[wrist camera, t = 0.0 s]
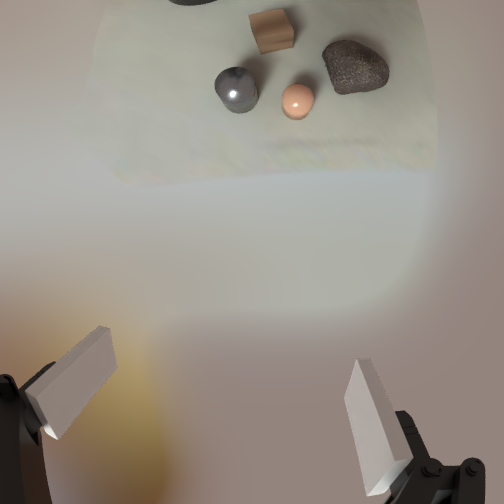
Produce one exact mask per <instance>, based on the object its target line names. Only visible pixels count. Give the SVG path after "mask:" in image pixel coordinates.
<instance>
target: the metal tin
mask: <svg viewBox="0 0 504 504" xmlns="http://www.w3.org/2000/svg"><path fill="white" fill-rule="evenodd" d="M215 90H216V93H217V94H218V96H219V97H220V99H221V100H222V102H223V103H224V105H225V106H226V107H227V109H228V110H230V111H232V112H234V113H246V112H248V111H250V110H251V109H253V108H254V107H255V105H256V103H257V101H258V94H257V90H256V85H255V81H254V77H253V75H252V74H251V73H250V72H249V71H248V70H246V69H244V68H241V67H231V68H228V69H226V70H224V71H222V72H221V73H220V74H219V75H218V77H217V78H216V81H215Z"/></svg>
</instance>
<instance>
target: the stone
mask: <svg viewBox="0 0 504 504" xmlns="http://www.w3.org/2000/svg"><path fill="white" fill-rule="evenodd" d="M322 57H323V59H324V61H325V63H326V67H327V70H328V74H329V77H330V79H331V83H332V84H333V87H334V89H335V91H336V92H337V93H338V94H344V95H345V94H350V93H356V92H368V91H372V90H375V89H378V88H381V87H383V86H384V85H386V83H387V82H388V78H389V68H388V66H387V64H386V63H385V61H384V59H383V58H382V57H381V56H379V55H378V54H377V53H376V52H374V51H373V50H371V49H370V48H368V47H366V46H364V45H362V44H360V43H357V42H354V41H349V40H342V41H337V42H334V43H331V44H330V45H329V46H327V47H326V49H325V50H324V51H323V54H322Z"/></svg>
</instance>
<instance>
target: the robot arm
mask: <svg viewBox="0 0 504 504" xmlns="http://www.w3.org/2000/svg"><path fill="white" fill-rule="evenodd" d="M169 1H171V2H172V3H175V4H179V5H187V6H191V5H201V4H206V3H210V2H213V1H216V0H169ZM116 369H117V363H116V358H115V354H114V348H113V343H112V338H111V332H110V328H106V327H102V326H98V327H97V328H96V329H95V330H94V331H92V332H91V333H90V334H89V335H88V336H86V337H85V338H84V339H83V340H82V341H80V342H79V343H78V344H77V345H76V346H75V347H73V348H72V349H71V350H70V351H69V352H68V353H67V354H65V356H63V357H62V358H61V359H60V360H59V361H57V362H52V363H50V364H47V365H46V366H45V367H43V368H42V369H41V370H40V372H38V373H37V374H35V376H33V377H32V378H31V379H30V380H29V381H28V382H26V383H25V384H24V385H23V386H22V387H21V388H20V389H18V387H17V386H16V383H15V381H14V379H13V377H12V376H10V375H8V374H2V375H0V504H52V500H51V496H50V491H49V486H48V481H47V476H46V470H45V463H44V456H43V448H42V436H41V432H40V427H41V426H43V428H44V429H45V431H46V433H47V434H49V435H50V436H52V437H54V438H55V439H57V440H58V439H59V438H60V437H61V436H62V435H63V434H64V432H65V431H66V430H67V429H68V427H69V426H70V425H71V424H72V422H73V421H74V420H75V419H76V417H77V416H78V415H79V414H80V412H81V411H82V410H83V409H84V407H85V406H86V405H87V404H88V403H89V401H90V400H91V399H92V398H93V396H94V395H95V394H96V393H97V392H98V390H99V389H100V388H101V387H102V386H103V384H104V383H105V382H106V381H107V380H108V378H109V377H110V376H111V375H112V374H113V372H114V371H115V370H116ZM344 400H345V403H346V408H347V411H348V415H349V420H350V424H351V428H352V431H353V436H354V440H355V444H356V449H357V453H358V458H359V462H360V467H361V471H362V476H363V481H364V486H365V490H366V496H371V495H377V494H383V493H384V492H385V491H386V490H387V489H388V488H389V487H390V490H391V495H390V496H389V497H388V498H387V499H386V500H385V501H384V502H383V503H382V504H485V466H484V464H483V463H482V461H481V460H479V459H477V458H468V459H466V460H464V461H463V463H462V464H461V465H460V466H443V465H442V463H441V462H440V461H438V460H436V459H433V458H430V456H429V454H428V452H427V449H426V447H425V445H424V443H423V441H422V438H421V436H420V434H418V430H417V427H415V423H414V421H413V419H412V417H411V416H410V415H409V414H408V413H407V412H406V411H394V409H393V407H392V405H391V403H390V400H389V398H388V396H387V393H386V391H385V389H384V387H383V385H382V383H381V381H380V378H379V376H378V374H377V372H376V370H375V367H374V366H373V363H372V361H371V359H356V362H355V366H354V369H353V372H352V376H351V378H350V382H349V385H348V388H347V391H346V394H345V396H344Z"/></svg>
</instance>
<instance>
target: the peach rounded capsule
mask: <svg viewBox="0 0 504 504" xmlns="http://www.w3.org/2000/svg"><path fill="white" fill-rule="evenodd" d="M313 102H314V96H313V93H312V91H311V90H310V89H309V88H308V87H306V86H304V85H301V84H293V85H290V86H288V87H287V88H286V89H285V90H284V92H283V97H282V110H283V112H284V114H285V115H286V116H287V117H288V118H290V119H293V120H301V119H303V118H305V117H306V116H307V115H308V114H309V112H310V109H311V107H312V105H313Z"/></svg>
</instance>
